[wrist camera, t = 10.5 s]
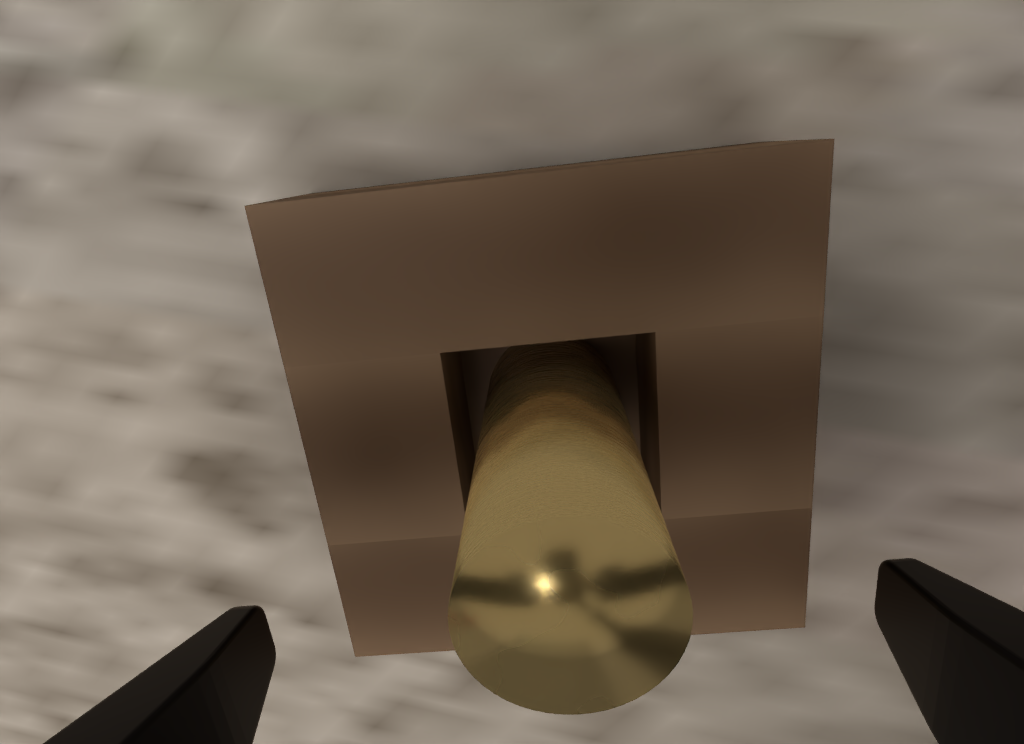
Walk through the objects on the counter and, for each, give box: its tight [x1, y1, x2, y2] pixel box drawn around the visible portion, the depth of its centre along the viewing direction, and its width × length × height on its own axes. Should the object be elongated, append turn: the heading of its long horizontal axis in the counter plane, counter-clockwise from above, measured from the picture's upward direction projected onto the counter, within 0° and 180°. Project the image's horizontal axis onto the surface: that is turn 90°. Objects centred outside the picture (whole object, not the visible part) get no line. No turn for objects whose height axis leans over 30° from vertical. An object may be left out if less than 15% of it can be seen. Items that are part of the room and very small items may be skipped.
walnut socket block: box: [245, 139, 834, 657], centre depth 16 cm, size 12×12×4 cm
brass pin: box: [448, 339, 693, 714], centre depth 13 cm, size 4×4×9 cm
